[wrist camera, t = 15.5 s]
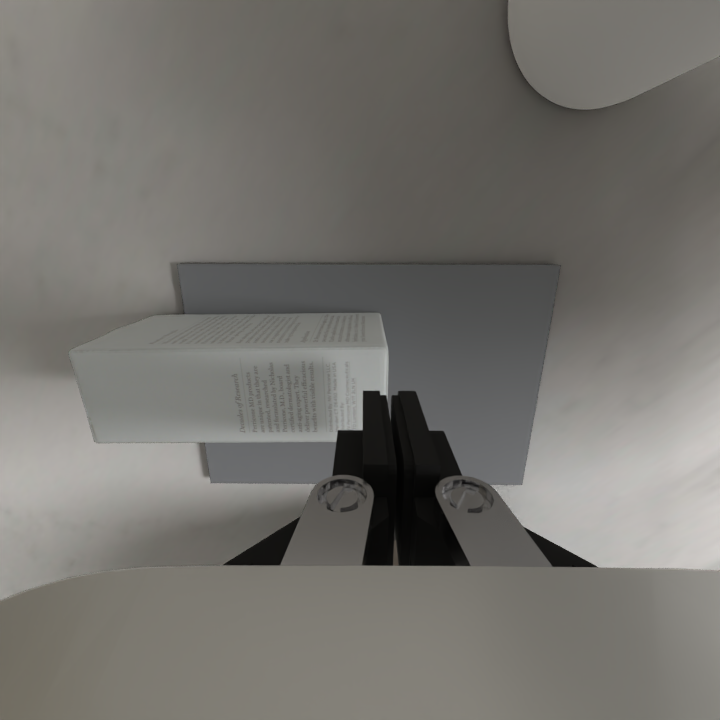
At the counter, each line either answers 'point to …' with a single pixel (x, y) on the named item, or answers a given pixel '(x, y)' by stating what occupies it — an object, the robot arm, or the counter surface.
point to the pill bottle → (609, 46)
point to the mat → (405, 352)
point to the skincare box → (232, 377)
